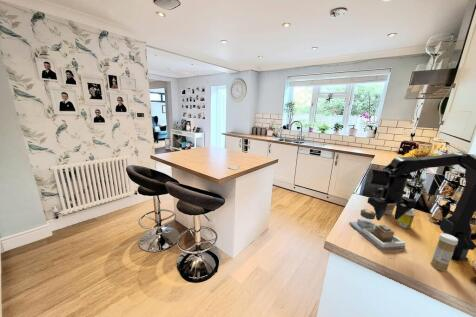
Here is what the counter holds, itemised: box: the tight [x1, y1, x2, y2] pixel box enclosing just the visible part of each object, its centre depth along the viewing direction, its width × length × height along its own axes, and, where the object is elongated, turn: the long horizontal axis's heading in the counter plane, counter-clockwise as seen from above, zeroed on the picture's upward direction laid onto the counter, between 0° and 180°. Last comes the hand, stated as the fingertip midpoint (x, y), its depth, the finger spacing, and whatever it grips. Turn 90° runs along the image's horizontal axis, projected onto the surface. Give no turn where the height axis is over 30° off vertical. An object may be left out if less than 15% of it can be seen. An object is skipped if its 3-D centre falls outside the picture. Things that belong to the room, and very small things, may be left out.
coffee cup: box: [379, 186, 396, 216], centre depth 111 cm, size 8×8×15 cm
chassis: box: [348, 217, 406, 251], centre depth 90 cm, size 19×12×4 cm, turn 8°
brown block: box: [374, 224, 395, 242], centre depth 86 cm, size 5×4×6 cm
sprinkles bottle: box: [430, 232, 458, 272], centre depth 71 cm, size 5×5×13 cm
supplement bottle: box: [396, 208, 416, 229], centre depth 99 cm, size 6×6×10 cm
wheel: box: [360, 208, 376, 220], centre depth 95 cm, size 6×6×2 cm
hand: (386, 219), depth 84 cm, fingers open, 9 cm apart
